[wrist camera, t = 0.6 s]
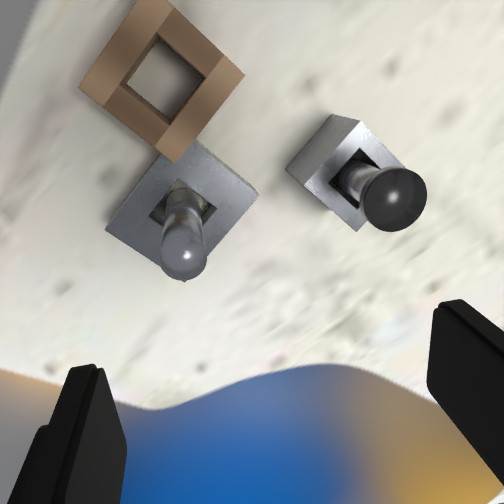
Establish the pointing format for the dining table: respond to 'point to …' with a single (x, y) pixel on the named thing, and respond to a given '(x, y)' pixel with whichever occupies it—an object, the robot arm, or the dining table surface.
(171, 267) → the grey round-topped peg
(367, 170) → the dark grey knobbed peg
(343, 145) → the housing
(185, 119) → the block
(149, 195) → the socket plate
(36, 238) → the dining table surface
